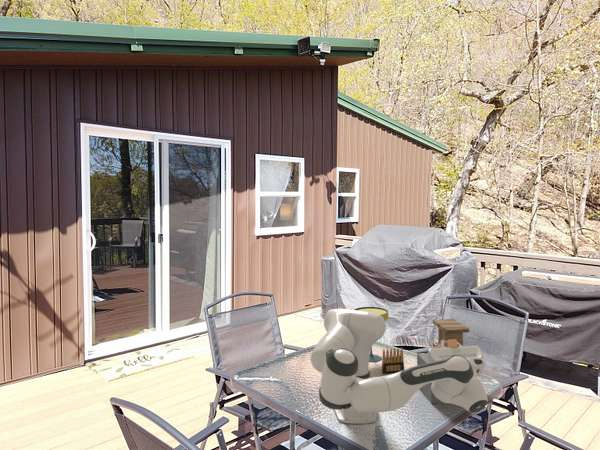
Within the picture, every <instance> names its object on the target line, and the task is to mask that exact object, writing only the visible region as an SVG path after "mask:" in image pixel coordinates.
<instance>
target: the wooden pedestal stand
mask: <svg viewBox="0 0 600 450" xmlns="http://www.w3.org/2000/svg"><path fill="white" fill-rule="evenodd" d="M432 324H433V325H434V326H436V327H437V328H438V329H437V335H438V337H437V340H438V342H437V343H438V344H437V345H439V344H441V340H446V341H447V340H449V339H456V340H457V342H458V343H460V344H461V345H462V346H463V347H464V333H470V328H469V327H467V326H466V325H464V324H462V323H460V322H459V321H458V320H456V319H455V318H450V319H449V318H447V319H432Z"/></svg>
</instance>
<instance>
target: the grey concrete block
mask: <svg viewBox="0 0 600 450" xmlns="http://www.w3.org/2000/svg"><path fill="white" fill-rule="evenodd" d="M427 353H428V352H423V353H417V354H416V357H417V358H416V363H417V364H416V366H418V365H422V364H427V363H430V361H429V359H428V357H427ZM431 384H432V383H429V384H426V385H424V386H423V387H421V388H420V389H419V390H418V391H420V392H421V393H422V395H423V396H424V397H425V398H426V399H427V401H429V403H430V404H439V402H440V401H439V400H437V399H436V398H435V396H434V395H433V393H432V391H431Z"/></svg>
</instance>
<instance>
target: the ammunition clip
mask: <svg viewBox="0 0 600 450" xmlns="http://www.w3.org/2000/svg"><path fill="white" fill-rule="evenodd" d="M396 349H397V350H396ZM403 351H404V350H403V347H400V348H399V347H397V348H395V347H394V348H393V349H392V348H390V350H389V348H386V350H385V348H383V349H382V356H381V357H382V359H381V360H382V362H381V374H382V375H390V374H394V373H397V372H400V371H403V370H405V362H404V352H403Z"/></svg>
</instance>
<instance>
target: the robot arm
mask: <svg viewBox="0 0 600 450" xmlns="http://www.w3.org/2000/svg"><path fill="white" fill-rule="evenodd" d="M386 323H387V322H386V321H385V320H384V318H383V317H382V316H381V315H379V314H376V313H373V312H368V311H360V310H355V309H348V308H333V309H329V310H327V312H326V313H325V314H324V318H323V326H324V328H325V331H326V333H325V334H324V335H323V336H322V337H321V338H320V339H319V341H318V342H317V343H316V345H315V347H314V348H313V349H312V352H311V355H310V363H311V366H312V367H313V368H314V369H315V371H318V373H321V379H320V385H319V389H318V396H319V397H318V398H319V401H320V403H321V404H322V405H323V406H324V407H326V408H328V409H331V410H333V411H334V413H335V416H336V418H337V421H338V422H340V423H345V424H351V425H352V424H353V425H354V424H355V425H361V424H362V425H363V424H371V423H375V422H376V420H377V415H378V413H385V412H392V411H396V410H399V409H400V408H403V407H404V406H406V404H407V403H408V402H409V401H410V400H411V399H412V397H414V395H415V394H416V393H417V392H418V391H420V390H419V389H420V388H421V387H423V386H424V385H426V384H429V383H432V384H431V391H432V393H433V395H434V396H435V398H436V399H437V400H439V401H440V402H442V403H443V404H446V405H447V404H448V405H451V404H452V405H456V406H458V407H461V408H463V409H464V410H466V411H467V412H469V413H478V412H481V411H482V410H484V408H485V407H486V406H487V404H488V402H489V399H488V395H487V392H486V389H485V387H484V385H483V383H482V380H480V379H479V377H478V376H480V375H482V373H483V371H485V366H486V361H485V359H484V358H485V357H484V353H483V351H482V349H481V347H479V346H478V345H471V346H470V345H469V346H464V345H463V346H462V345H461V344H460V343H458V342H457V345H458V347H452V348H450V347H449V348H446V347H445V346H446V340H441V345H442V347H441V348H432V347H431V349H430V348H428V349H429V350H428V349H427V350H428V351H427V352H426V353H427V357H428V359H429V361H430V363H427V364H422V365H418V366H417V365H414V366H411V367H407V368H404V370H403V371H400V372H397V373H392V374H385V375H381V376H373V377H371V372H370V370H369V369H370V368H369V367H370V365H369V364H370V362H369V354H370V350H371V347H372V348H373V345H374V344H375V343H377V341H379V340H381V339H382V338H383V336H384V335H385V333H386V329H387V324H386ZM442 403H441V404H442Z"/></svg>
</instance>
